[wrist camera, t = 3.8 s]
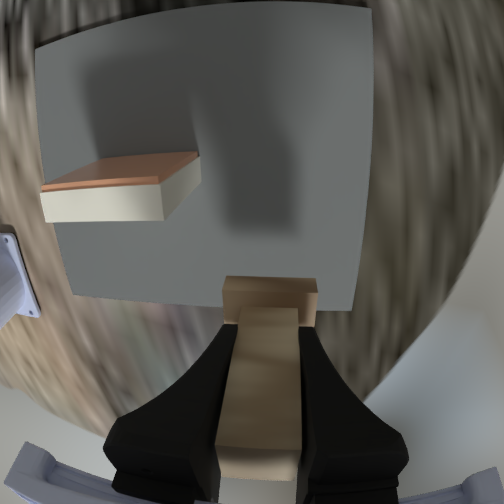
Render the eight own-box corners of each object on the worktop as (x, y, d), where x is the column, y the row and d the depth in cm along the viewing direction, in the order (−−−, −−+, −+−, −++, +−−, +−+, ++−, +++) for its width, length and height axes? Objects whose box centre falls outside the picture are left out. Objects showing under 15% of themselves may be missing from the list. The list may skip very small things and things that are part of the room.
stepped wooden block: (230, 341, 16) (201, 481, 9) (226, 275, 15) (182, 426, 8) (308, 344, 16) (314, 488, 9) (315, 278, 14) (335, 435, 7)
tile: (106, 185, 18) (45, 222, 12) (102, 158, 17) (38, 186, 12) (201, 181, 17) (164, 220, 12) (199, 150, 16) (159, 176, 11)
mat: (76, 291, 22) (72, 294, 22) (39, 49, 14) (35, 49, 14) (350, 306, 20) (351, 310, 20) (369, 10, 13) (371, 8, 12)
